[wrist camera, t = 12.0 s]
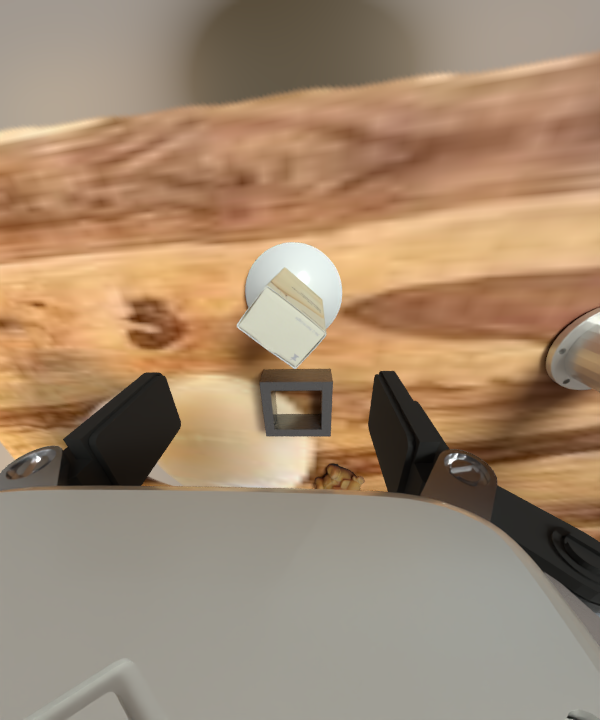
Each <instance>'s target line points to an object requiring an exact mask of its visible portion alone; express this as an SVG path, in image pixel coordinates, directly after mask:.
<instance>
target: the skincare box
mask: <svg viewBox="0 0 600 720" xmlns="http://www.w3.org/2000/svg"><path fill="white" fill-rule="evenodd" d="M237 327H238V328H239V329H240V330H241V331H243V332H244V333H245V334H247V335H248V336H249V337H251V338H252V339H253V340H255V341H256V342H257V343H259V344H260V345H261V346H263V347H264V348H265V349H267V350H268V351H270V352H271V353H273V354H274V355H275V356H277V357H278V358H280V359H281V360H283V361H284V362H286V363H287V364H288V365H290V366H291V367H293V368H294V369H296V368H297V367H298V366H299V365H300V364H301V363H302V362H303V361H304V360H305V359H306V358H307V357H308V355H309V354H310V353H311V352H312V351H313V350H314V349H315V348H316V347H317V346H318V345H319V343H320V342H321V341H322V340H323V339H324V338H325V336H326V326H325V318H324V309H323V301H322V299H321V298H320V297H319V296H318V295H317V294H316V293H315V292H313V291H312V290H311V289H310V288H309V287H308V286H307V285H305V284H304V283H303V282H302V281H301V280H300V279H298V278H297V277H296V276H295V275H294V274H293V273H291V272H290V271H289V270H288V269H287V268H285V267H284V268H283V269H282V270H281V271H280V272H279V273H278V274H277V275H276V276H275V277H274V278H273V279H272V280H271V281H270V282H269V283H268V284H267V285H266V286H265V287H264V289H263V290H262V291H261V293H260V294H259V295H258V296H257V298H256V299H255V300H254V302H253V303H252V304H251V306H250V307H249V308H248V310H247V311H246V312H245V314H244V315H243V317H242V318H241V319H240V321H239V322H238V324H237Z"/></svg>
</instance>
